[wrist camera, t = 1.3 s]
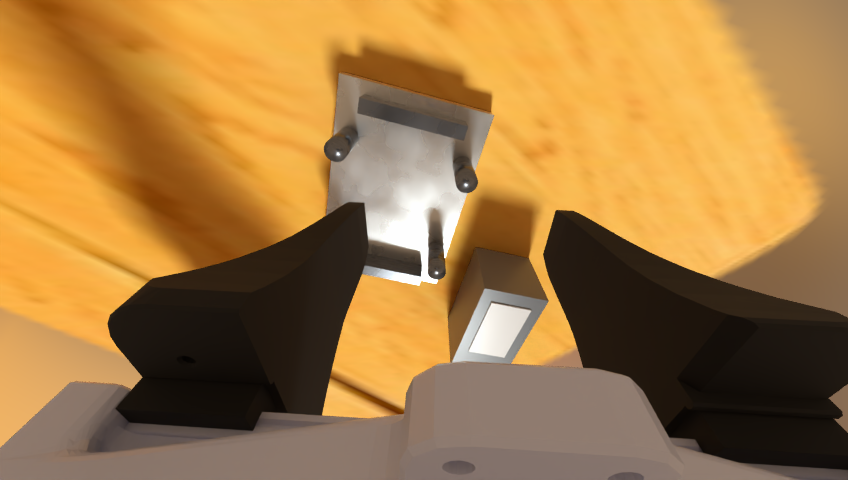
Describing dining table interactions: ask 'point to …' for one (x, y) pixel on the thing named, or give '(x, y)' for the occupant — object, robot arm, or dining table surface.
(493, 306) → the block
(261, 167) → the dining table surface
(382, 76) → the dining table surface
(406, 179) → the pin tray
